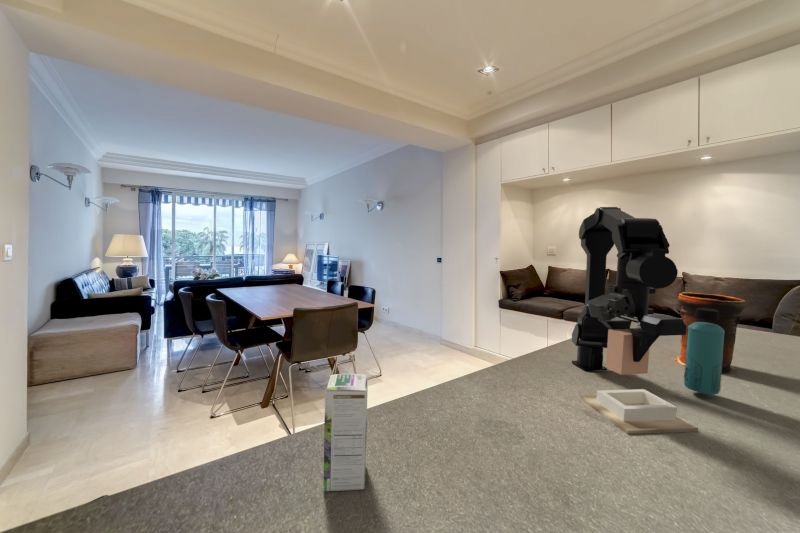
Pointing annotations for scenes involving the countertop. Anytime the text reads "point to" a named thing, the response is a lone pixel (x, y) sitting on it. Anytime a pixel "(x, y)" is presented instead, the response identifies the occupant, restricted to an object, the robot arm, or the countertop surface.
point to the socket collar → (648, 412)
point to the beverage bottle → (704, 354)
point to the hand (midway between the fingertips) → (627, 358)
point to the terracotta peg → (624, 353)
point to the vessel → (712, 321)
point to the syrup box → (345, 432)
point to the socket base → (641, 426)
